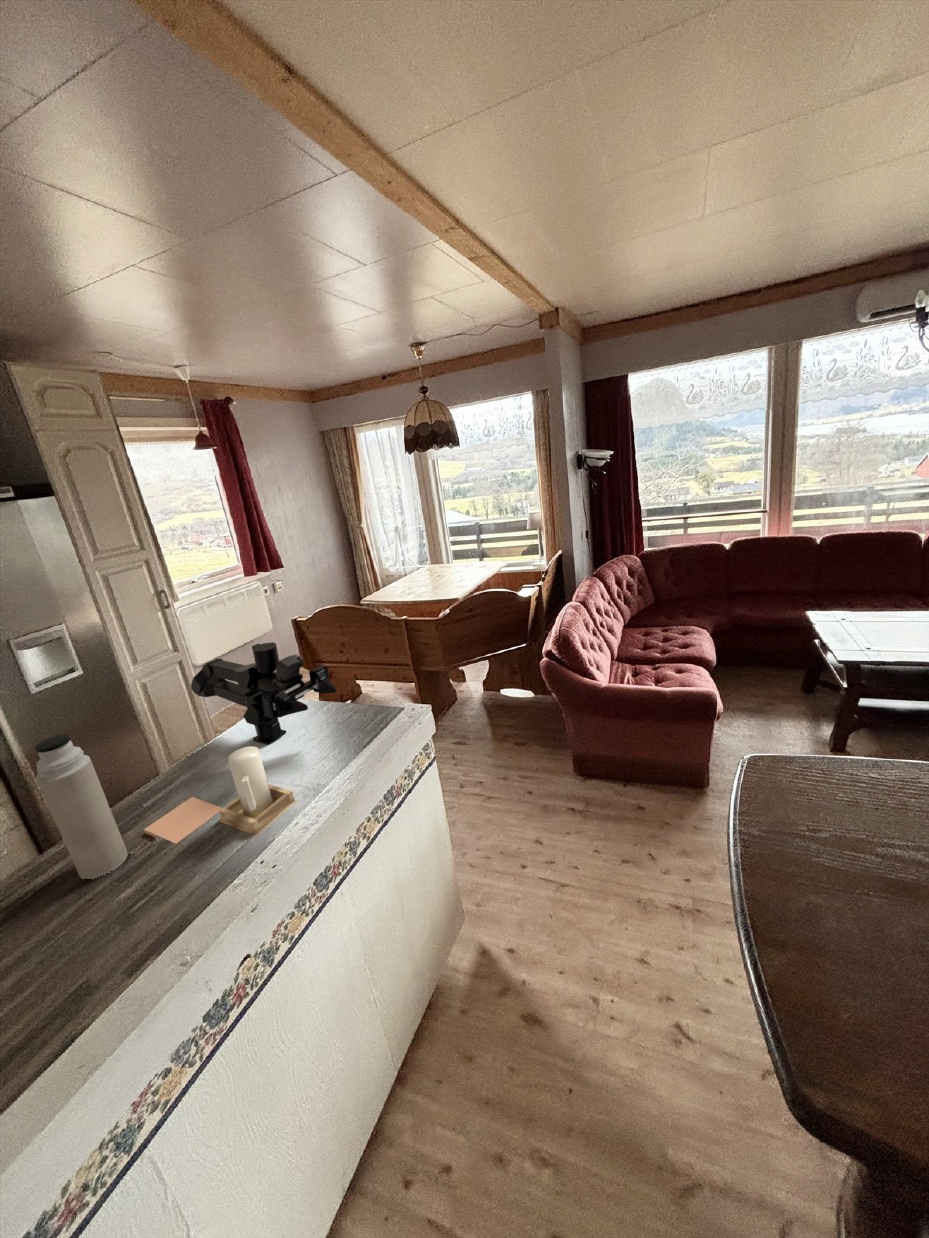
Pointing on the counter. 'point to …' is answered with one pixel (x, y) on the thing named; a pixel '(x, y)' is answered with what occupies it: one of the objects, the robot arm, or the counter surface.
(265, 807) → the jug
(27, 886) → the counter surface
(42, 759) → the thermos bottle
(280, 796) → the holder
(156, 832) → the tile
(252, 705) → the robot arm
